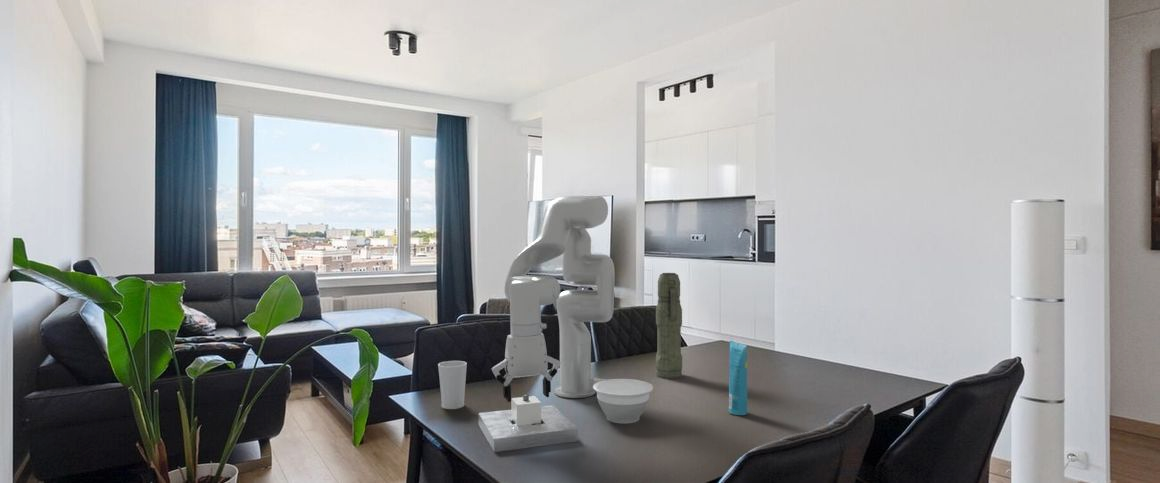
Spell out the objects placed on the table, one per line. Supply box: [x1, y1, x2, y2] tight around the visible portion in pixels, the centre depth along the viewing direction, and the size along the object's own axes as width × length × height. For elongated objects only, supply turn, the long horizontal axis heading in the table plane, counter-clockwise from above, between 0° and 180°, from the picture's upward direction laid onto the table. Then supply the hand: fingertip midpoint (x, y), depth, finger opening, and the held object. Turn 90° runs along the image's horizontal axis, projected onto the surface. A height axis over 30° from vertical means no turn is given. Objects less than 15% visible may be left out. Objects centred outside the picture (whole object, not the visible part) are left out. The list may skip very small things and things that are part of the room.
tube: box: [728, 339, 748, 416], centre depth 160 cm, size 7×5×19 cm, turn 26°
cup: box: [437, 360, 468, 410], centre depth 168 cm, size 8×8×12 cm
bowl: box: [593, 378, 654, 424], centre depth 157 cm, size 16×16×9 cm
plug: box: [510, 394, 542, 426], centre depth 146 cm, size 6×6×8 cm
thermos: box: [655, 272, 683, 380], centre depth 201 cm, size 9×12×35 cm
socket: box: [478, 404, 579, 453], centre depth 146 cm, size 20×20×4 cm
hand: (527, 397), depth 146 cm, fingers open, 9 cm apart
